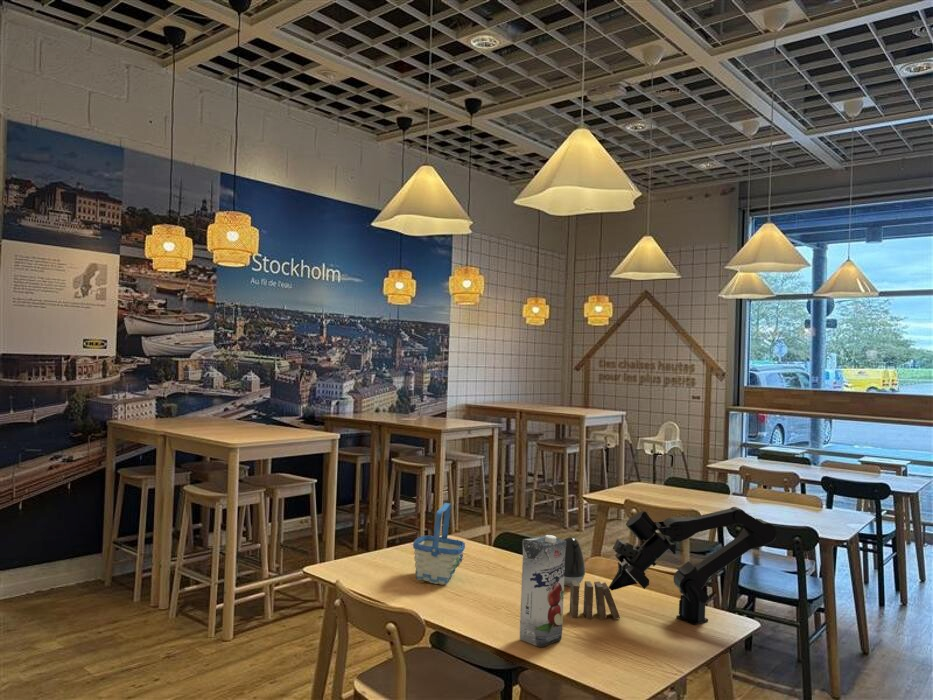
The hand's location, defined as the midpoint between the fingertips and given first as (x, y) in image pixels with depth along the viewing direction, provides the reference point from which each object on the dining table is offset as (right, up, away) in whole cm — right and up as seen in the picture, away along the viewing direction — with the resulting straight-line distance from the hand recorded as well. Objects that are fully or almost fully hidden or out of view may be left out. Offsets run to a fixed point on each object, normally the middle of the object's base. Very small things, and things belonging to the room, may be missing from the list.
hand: (609, 588), depth 199 cm
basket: (-50, -7, +30) cm, 59 cm away
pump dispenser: (-7, -9, +29) cm, 32 cm away
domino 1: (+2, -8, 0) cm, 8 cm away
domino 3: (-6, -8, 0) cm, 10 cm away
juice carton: (-22, -6, -20) cm, 31 cm away
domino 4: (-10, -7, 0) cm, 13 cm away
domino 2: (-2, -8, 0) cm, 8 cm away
